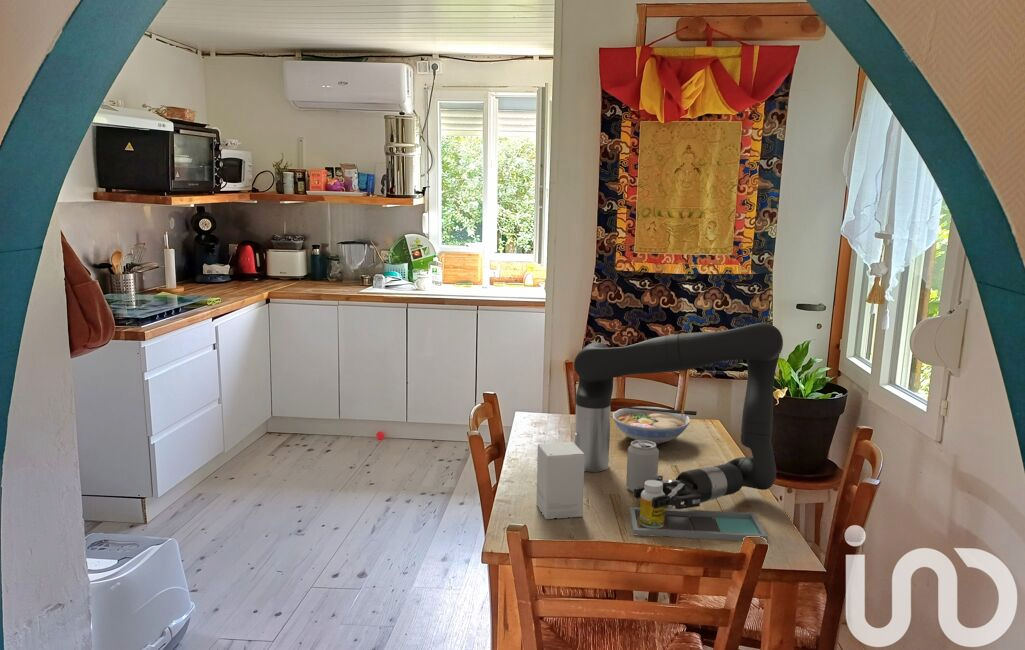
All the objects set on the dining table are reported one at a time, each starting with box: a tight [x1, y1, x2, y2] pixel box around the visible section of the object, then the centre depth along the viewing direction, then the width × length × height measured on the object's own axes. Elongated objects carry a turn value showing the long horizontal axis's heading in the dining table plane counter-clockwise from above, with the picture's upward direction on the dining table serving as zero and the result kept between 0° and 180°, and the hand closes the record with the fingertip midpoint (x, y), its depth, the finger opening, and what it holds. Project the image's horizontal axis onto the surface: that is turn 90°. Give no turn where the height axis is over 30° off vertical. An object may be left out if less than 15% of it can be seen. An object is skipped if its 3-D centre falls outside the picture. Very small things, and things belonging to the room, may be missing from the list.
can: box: [625, 439, 660, 493], centre depth 185 cm, size 8×8×12 cm
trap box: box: [628, 506, 769, 541], centre depth 166 cm, size 28×12×1 cm, turn 86°
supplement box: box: [536, 441, 585, 520], centre depth 172 cm, size 9×9×15 cm
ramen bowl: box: [612, 405, 697, 445], centre depth 223 cm, size 25×23×8 cm
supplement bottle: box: [639, 480, 666, 529], centre depth 166 cm, size 5×5×10 cm
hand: (644, 498), depth 164 cm, fingers open, 5 cm apart
